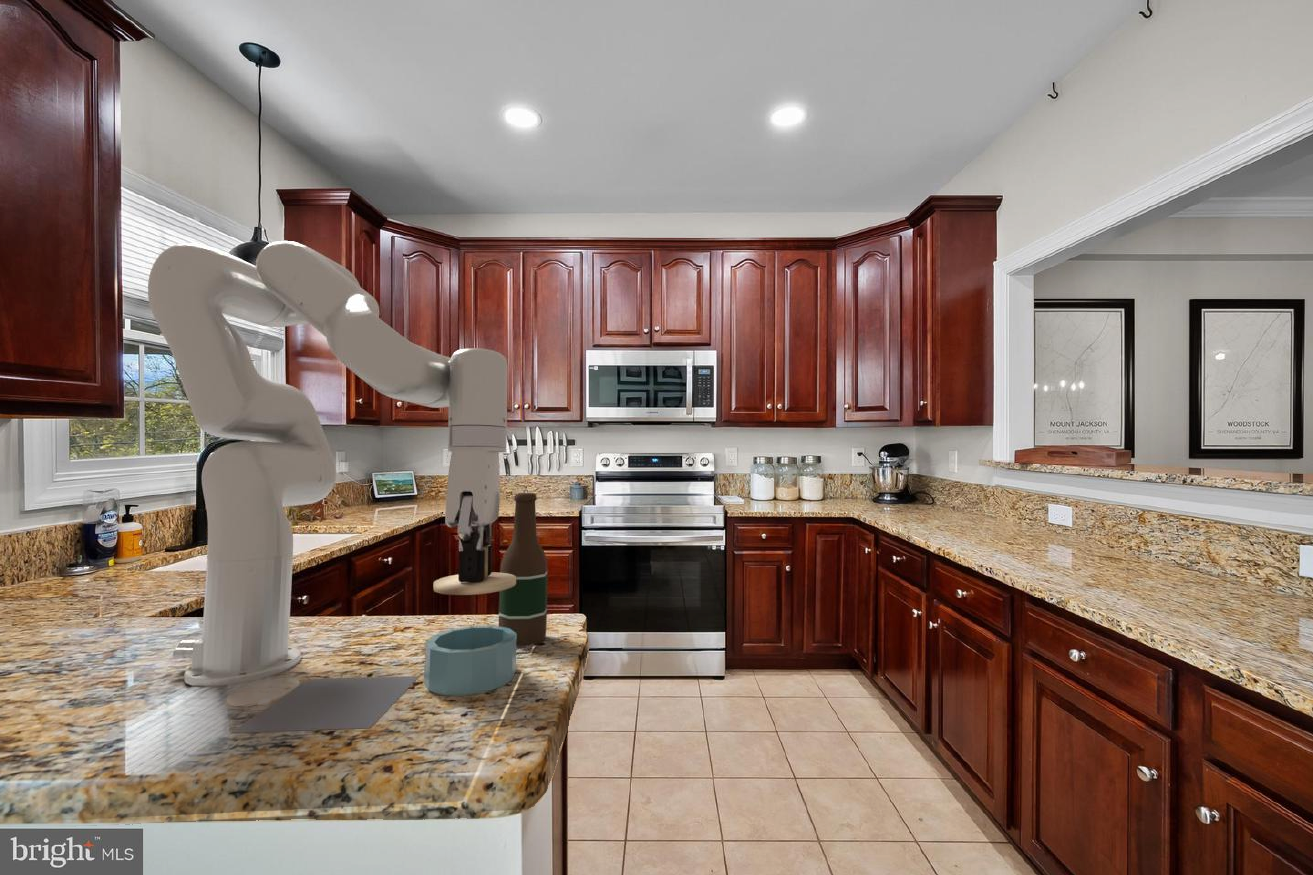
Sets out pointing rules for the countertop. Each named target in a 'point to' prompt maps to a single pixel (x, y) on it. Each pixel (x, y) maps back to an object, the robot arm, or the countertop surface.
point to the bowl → (470, 660)
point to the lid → (475, 583)
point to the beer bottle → (525, 577)
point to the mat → (330, 705)
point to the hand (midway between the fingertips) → (475, 577)
